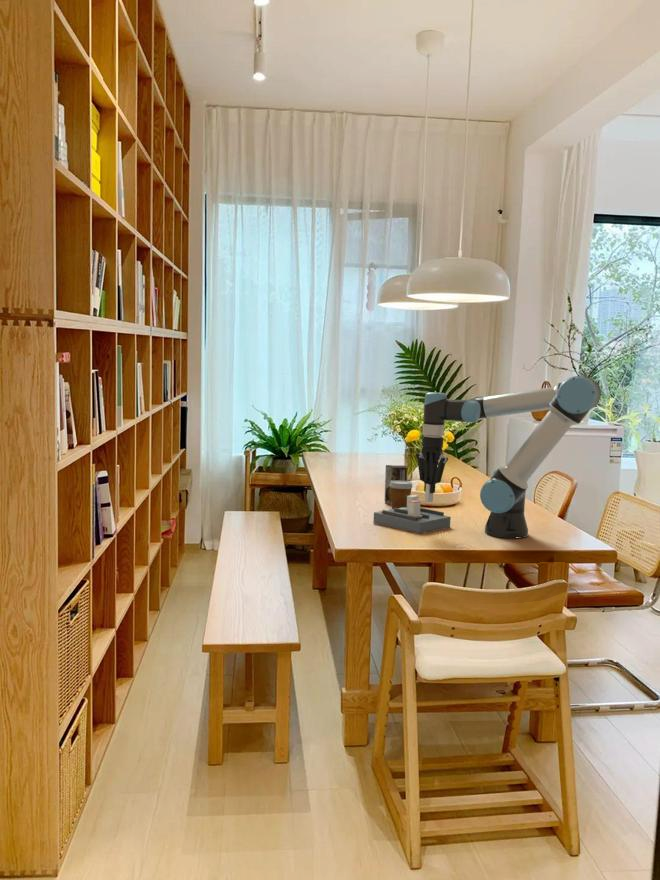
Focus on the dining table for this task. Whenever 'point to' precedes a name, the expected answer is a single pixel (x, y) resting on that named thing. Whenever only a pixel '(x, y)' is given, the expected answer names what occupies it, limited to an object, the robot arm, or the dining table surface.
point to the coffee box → (393, 478)
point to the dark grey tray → (412, 519)
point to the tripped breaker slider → (414, 508)
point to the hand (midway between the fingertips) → (428, 501)
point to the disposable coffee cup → (400, 493)
